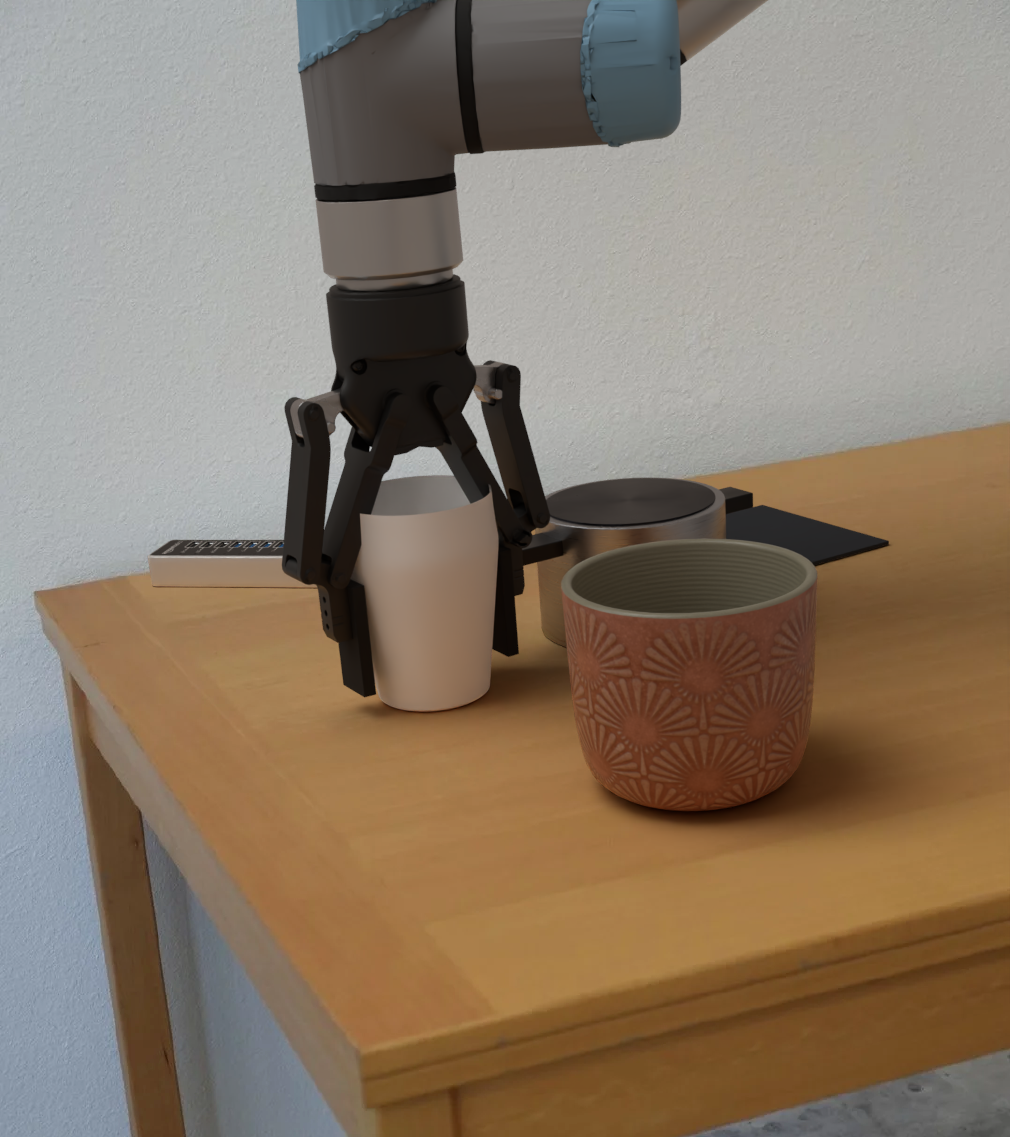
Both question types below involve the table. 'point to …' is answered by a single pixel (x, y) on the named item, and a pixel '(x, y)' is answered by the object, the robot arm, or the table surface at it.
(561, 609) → the steel pot
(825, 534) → the mat
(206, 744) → the table surface
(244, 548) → the multiport hub
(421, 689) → the cup
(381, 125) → the robot arm
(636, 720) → the planter
